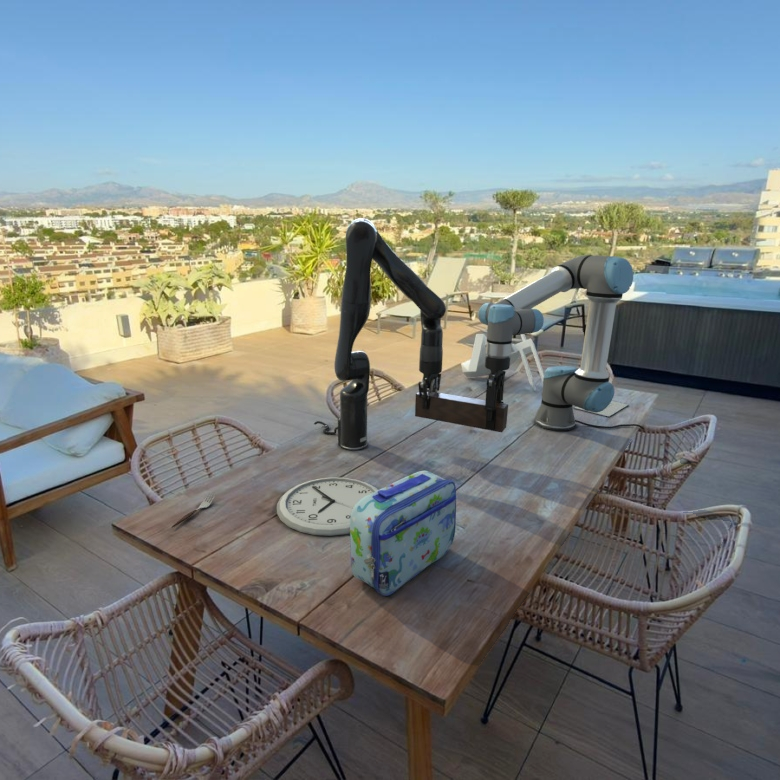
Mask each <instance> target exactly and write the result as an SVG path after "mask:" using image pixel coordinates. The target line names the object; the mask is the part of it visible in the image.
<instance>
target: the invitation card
mask: <svg viewBox="0 0 780 780" xmlns="http://www.w3.org/2000/svg"><path fill="white" fill-rule="evenodd" d="M628 406H629V404H627V403H623V402H618V401H614V400H612V401H611V403H610V404H609V405H608V406H607V408H605V409H604V410H603V411H601V412H591V411H586V410H584V409H582V408H579V407H576V406H574V407H573V409H575V410H581V411H584V412H587V413H593V414H596V415H600V416H604V417H608V418H609V417H611V416H613V415H614V414H616V413H617V412H619V411H621V410H623V409H624V408H626V407H628Z"/></svg>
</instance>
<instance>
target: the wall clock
mask: <svg viewBox="0 0 780 780" xmlns="http://www.w3.org/2000/svg"><path fill="white" fill-rule="evenodd" d="M378 490H380V489H379V488H377V487H376V486H374V485H372V484H371V483H369V482H365V481H362V480H359V479H355V478H349V477H338V476H337V477H335V476H333V477H332V476H331V477H322V478H317V479H312V480H307V481H305V482H302V483H299V484H297V485H295V486H293V487H292V488H290V489H288V490H287V491H286V492H285V493H284V494H283V495H281V496H280V498H279V499H278V502H277V503H276V515H277V517H278V518H279V520H280V521H281V522H282V523H283V524H285V525H286V526H287V527H288V528H290V529H293V530H295V531H297V532H299V533H303V534H308V535H312V536H327V537H328V536H329V537H331V536H332V537H333V536H342V535H350V517H351V513H352V510H353V508H354V506H355V505H356V503H357V502H358V501H359V500H360V499H362V498H364V497H365V496H367V495H370V494H372V493H374V492H376V491H378Z"/></svg>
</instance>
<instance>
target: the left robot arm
mask: <svg viewBox="0 0 780 780" xmlns="http://www.w3.org/2000/svg"><path fill="white" fill-rule="evenodd" d="M345 249H346V250H345V252H346V266H345V273H344V279H343V284H342V290H341V299H340V312H339V313H340V318H339V331H338V337H337V344H336V350H335V355H334V364H333V365H334V374H335V376H336V378H337V379H338V380H339V381H341V382H347V381H350V382H349V383H348V384H347V385H346V386H343V388H341V389H340V391H339V418H338V419H337V426H336V427H334V429H333V431H328V430H329V429H330V426H329V425H328V424H327V423H325V422H323V421H320V420H316V421H315V422H314V423H313V425H317V424H320V425H322V426H324V427H325V428H324V429H323V430H322V432H323V433H324V434H325V435H326V434H327V435H336V434H337V445H338V446H340V447H341V448H342V449H344V450H348V451H358V450H363V449H366V448H367V446H368V393H369V391H370V376H371V375H370V374H371V363H370V359H369V356H368V354H367V352H365V351H363V350H356V351H353V348H354V344H355V341H356V339H357V338H358V336H359V334H360V333H361V331H362V330H363V328H364V327H365V325H366V324H367V322H368V320H369V318H370V317H369V316H370V312H371V303H372V302H371V301H372V280H371V268H372V262H373V261H374V263H376V264H377V265H378V266H379V267H380V269H381V270H382V271H383V273H384V274H385V275H386V276H387V278H388V279H389V280H390V281H391V282H392V283H393V285H394V286H395V287H396V288H397V289H398V290H399V291H400V292H401V293H402V295H404V296H405V297H406V298H407V299H409V300H410V301H411V302H413V303H414V304H415V306H416V307H417V308H418V309H419V314H420V326H421V330H420V331H421V332H420V346H419V360H418V361H419V362H418V371H419V372H420V373H421V374H422V379H421V381H418V385H417V386H418V392H419V398H423V402H422V408H423V409H425V410H428V409H429V400H430V399H429V398H430V393H431V392H437V393H438V392H439V391H440V388H441V379H442V372H443V356H444V355H443V354H444V349H443V339H444V331H443V328H442V319H443V317H445V314H446V312H447V306H446V303H445V301H444V300H443V299H442V298H441V297H440V296H439V295H438V294H437V293H435V292H434V291H433V290H432V289H431V288H430V287H428V285H427V284H426V283H425V282H424V281H423V280H422V279H421V278H420V276H419V275H418V274H416V272H415V271H414V270H412V268H410V266H408V265H407V263H405V262H404V261H403V260H402V258H400V257H399V256H398V255H397V254H396V253H395V252H394V251H393V249H392V248H391V247H390V246H389V244H388V243H387V242H386V241H385V240H384V238H383V237H382V236H381V234H380V232H379V231H378V229H377V228H376V226H375V225H374V223H373V222H372V221H371V220H369V219H367V218H357V219H354V220H353V221H351V223H349V224H348V227H347V229H346V232H345ZM427 392H428V395H427ZM325 425H327V426H325Z"/></svg>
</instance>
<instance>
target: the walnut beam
mask: <svg viewBox="0 0 780 780" xmlns="http://www.w3.org/2000/svg"><path fill="white" fill-rule="evenodd" d="M427 395H428V392H427ZM429 399H430V400H429V409H428V410H425V409H423V408H422V402H423V398H419V391H418V392H416V393H415V402H414V403H415V405H414V406H415V407H414V416H415V417H417V418H422V419H428V420H433V421H438V422H443V423H449V424H455V425H460V426H465V427H471V428H476V429H481V430H487V431H491V432H496V433H503V432H504V431H505V429H507V423H508V413H509V412H508V411H509V403H505V402H504V403H498V402H496V406H495V410H496V415H495V428H494V430H489V429H485V427H486V414H487V410H484V408H485V402H486V399H480V398H473V397H467V396H462V395H461V396H460V395H455V394H449V393H442V392H438V391H437V392H431V393H430V398H429Z"/></svg>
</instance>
